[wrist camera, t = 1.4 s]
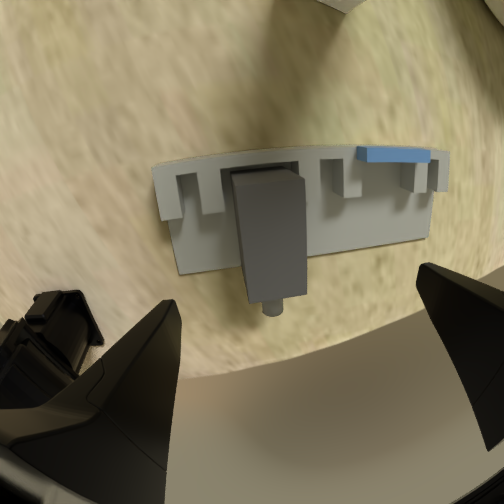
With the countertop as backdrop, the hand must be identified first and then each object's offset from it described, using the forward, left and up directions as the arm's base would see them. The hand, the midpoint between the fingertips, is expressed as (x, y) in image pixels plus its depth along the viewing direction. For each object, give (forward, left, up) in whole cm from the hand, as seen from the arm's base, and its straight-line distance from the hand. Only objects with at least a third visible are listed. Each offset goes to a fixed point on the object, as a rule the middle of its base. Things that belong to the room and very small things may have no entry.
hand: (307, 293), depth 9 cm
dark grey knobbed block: (-3, 0, -13) cm, 13 cm away
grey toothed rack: (-1, -5, -13) cm, 14 cm away
